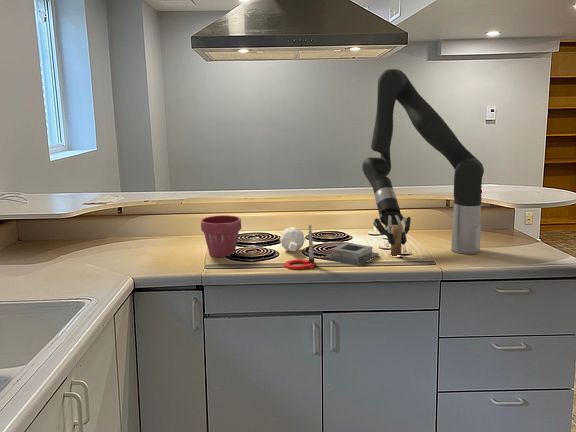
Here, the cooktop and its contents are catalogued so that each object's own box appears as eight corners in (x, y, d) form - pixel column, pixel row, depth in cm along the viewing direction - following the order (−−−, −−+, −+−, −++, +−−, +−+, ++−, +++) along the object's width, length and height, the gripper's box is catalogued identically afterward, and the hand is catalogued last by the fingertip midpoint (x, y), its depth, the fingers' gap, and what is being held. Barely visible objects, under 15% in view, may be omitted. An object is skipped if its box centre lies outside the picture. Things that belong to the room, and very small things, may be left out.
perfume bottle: (276, 242, 210) (277, 255, 199) (284, 220, 207) (285, 231, 196) (299, 248, 211) (301, 261, 200) (306, 226, 209) (309, 238, 197)
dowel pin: (402, 255, 198) (403, 225, 196) (398, 258, 196) (399, 227, 193) (393, 254, 200) (394, 223, 198) (388, 256, 198) (389, 225, 195)
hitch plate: (378, 256, 198) (379, 246, 198) (360, 265, 187) (360, 255, 186) (343, 250, 206) (343, 240, 205) (324, 259, 195) (324, 249, 194)
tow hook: (283, 271, 183) (314, 270, 183) (281, 229, 181) (312, 228, 180) (285, 263, 192) (314, 262, 192) (282, 223, 189) (312, 222, 189)
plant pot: (193, 254, 202) (192, 219, 199) (224, 246, 212) (223, 213, 209) (218, 262, 192) (217, 225, 190) (250, 253, 202) (249, 218, 199)
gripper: (370, 197, 200) (381, 239, 191) (408, 196, 202) (421, 237, 193) (365, 209, 206) (376, 250, 197) (402, 207, 209) (414, 248, 199)
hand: (398, 243), depth 195 cm, fingers closed on dowel pin, 3 cm apart
